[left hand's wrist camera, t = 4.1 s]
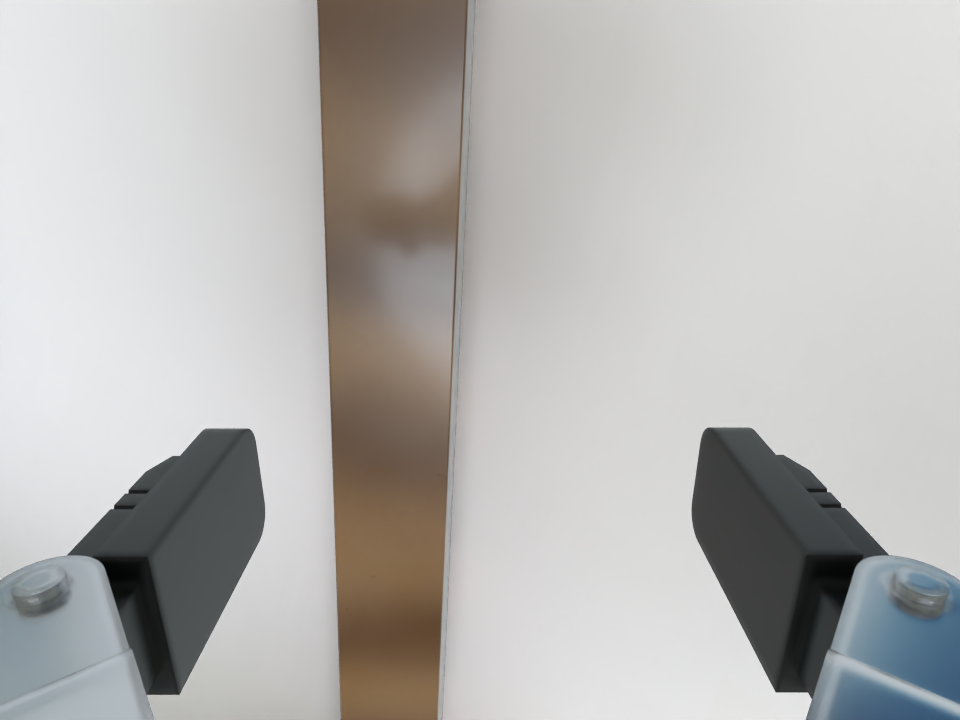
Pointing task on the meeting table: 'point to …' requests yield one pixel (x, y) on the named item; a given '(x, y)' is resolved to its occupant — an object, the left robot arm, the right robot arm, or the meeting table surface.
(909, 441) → the meeting table surface
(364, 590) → the beam
